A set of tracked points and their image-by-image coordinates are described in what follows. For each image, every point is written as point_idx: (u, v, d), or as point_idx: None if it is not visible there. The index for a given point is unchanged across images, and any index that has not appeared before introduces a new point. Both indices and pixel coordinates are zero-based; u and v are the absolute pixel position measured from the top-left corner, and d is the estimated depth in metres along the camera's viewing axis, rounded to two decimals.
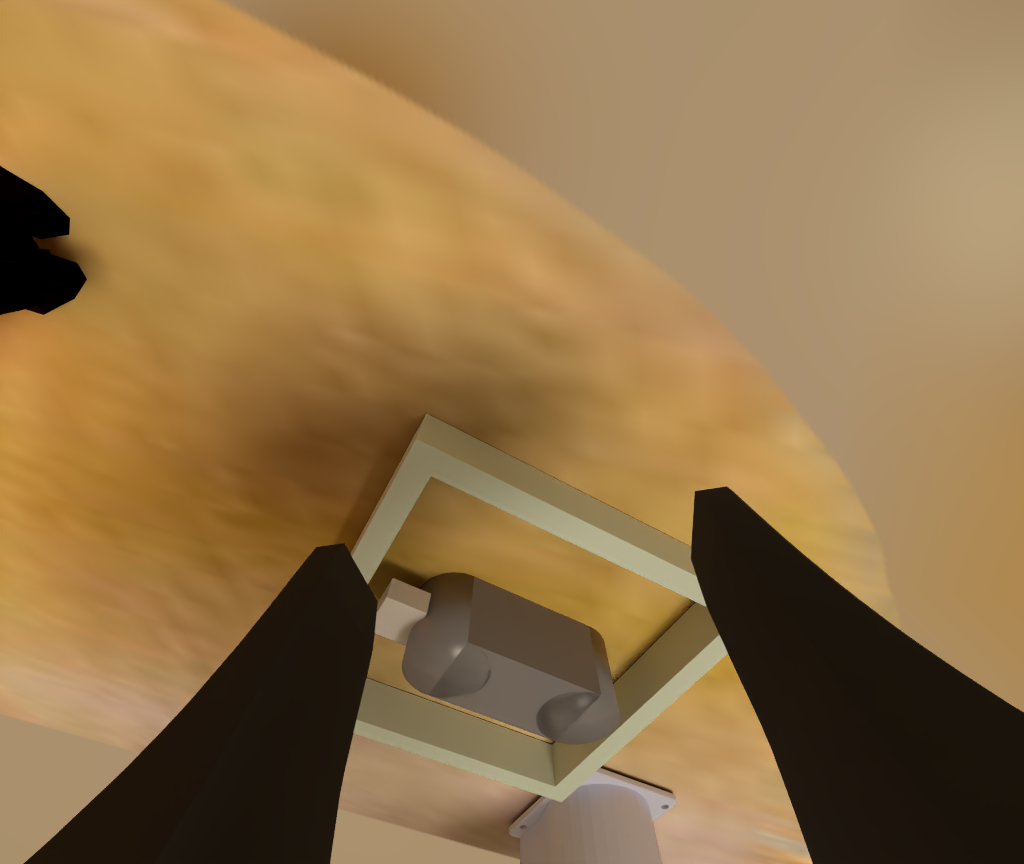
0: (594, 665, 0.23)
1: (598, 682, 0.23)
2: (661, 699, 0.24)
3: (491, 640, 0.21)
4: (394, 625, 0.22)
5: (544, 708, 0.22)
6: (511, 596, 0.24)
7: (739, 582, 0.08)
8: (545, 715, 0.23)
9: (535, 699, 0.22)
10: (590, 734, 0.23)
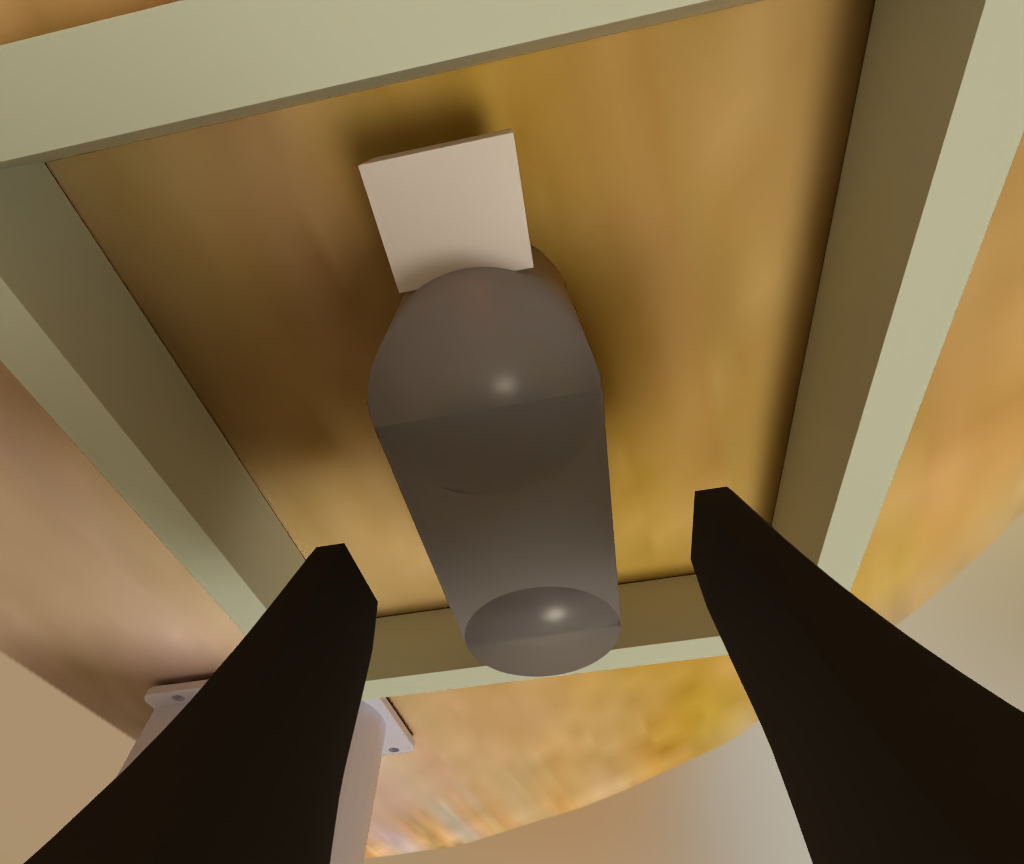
0: None
1: None
2: (603, 659, 0.16)
3: None
4: (436, 224, 0.08)
5: (526, 594, 0.11)
6: None
7: (739, 582, 0.08)
8: (511, 604, 0.11)
9: (536, 572, 0.11)
10: (523, 664, 0.13)
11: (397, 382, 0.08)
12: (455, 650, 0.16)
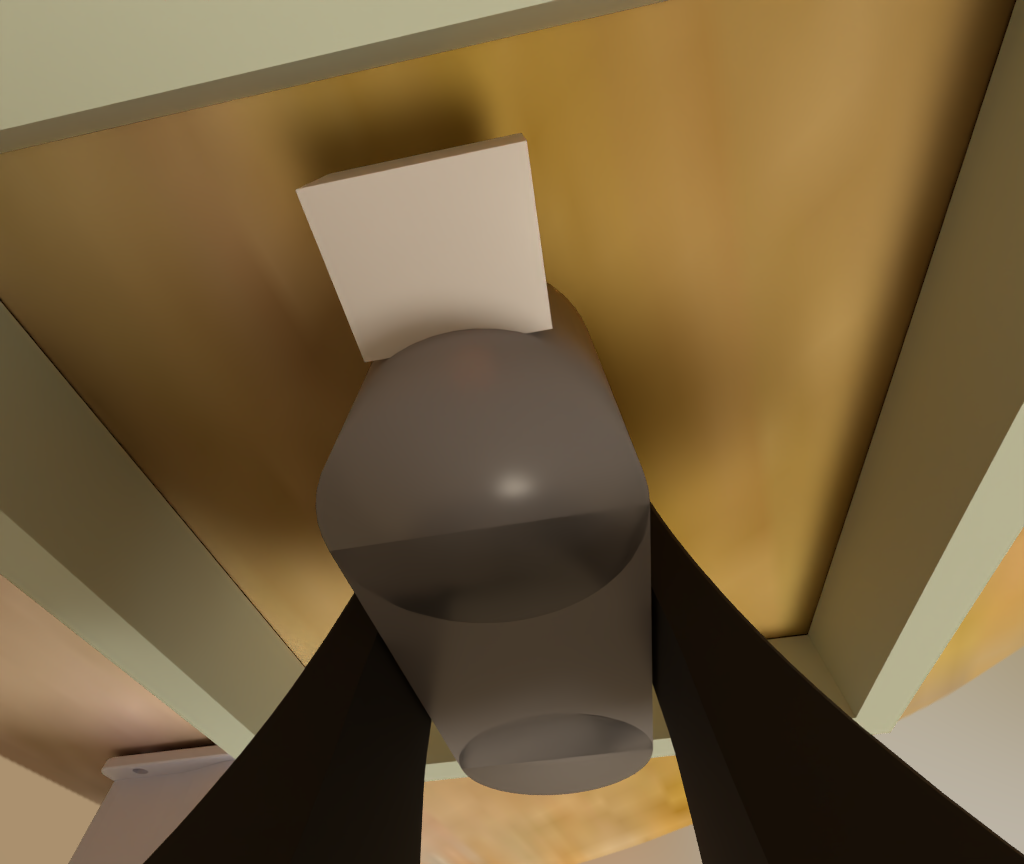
0: None
1: None
2: None
3: None
4: (413, 271, 0.05)
5: (537, 721, 0.09)
6: None
7: None
8: (516, 730, 0.09)
9: (550, 700, 0.08)
10: (531, 784, 0.11)
11: (358, 497, 0.05)
12: None
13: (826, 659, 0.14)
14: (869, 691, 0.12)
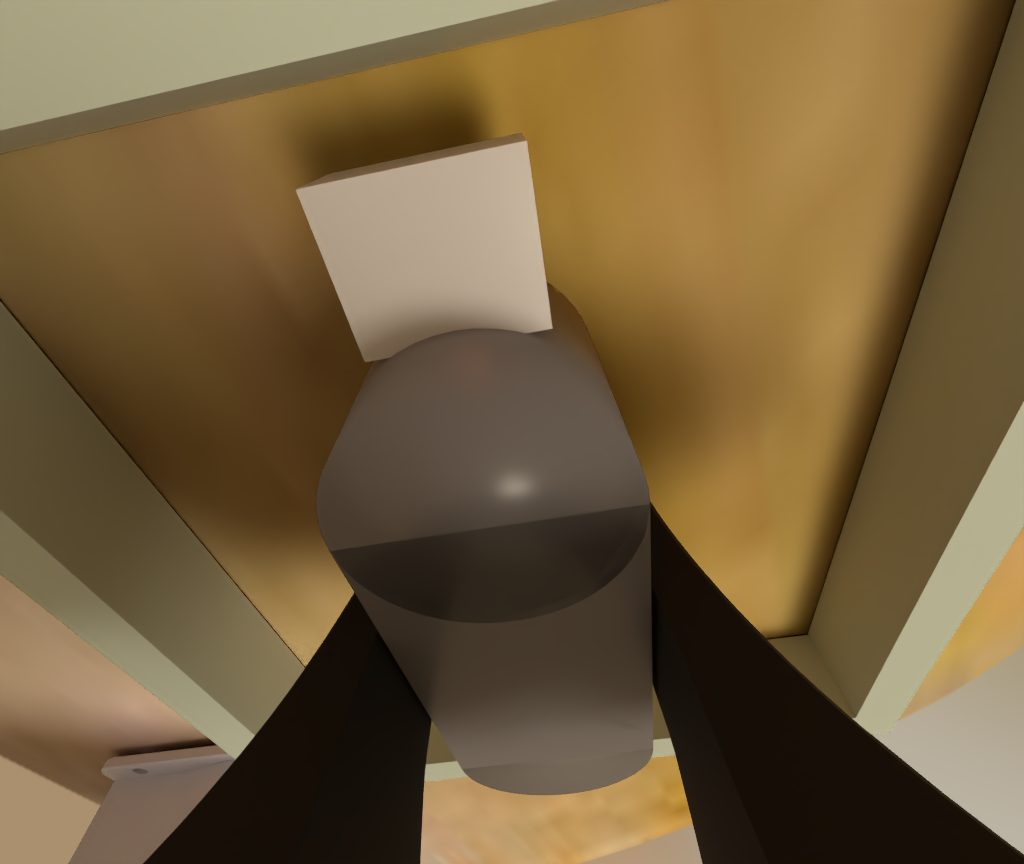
0: None
1: None
2: None
3: None
4: (413, 271, 0.05)
5: (537, 721, 0.09)
6: None
7: None
8: (517, 730, 0.09)
9: (550, 700, 0.08)
10: (531, 784, 0.11)
11: (358, 497, 0.05)
12: None
13: (826, 659, 0.14)
14: (868, 691, 0.12)
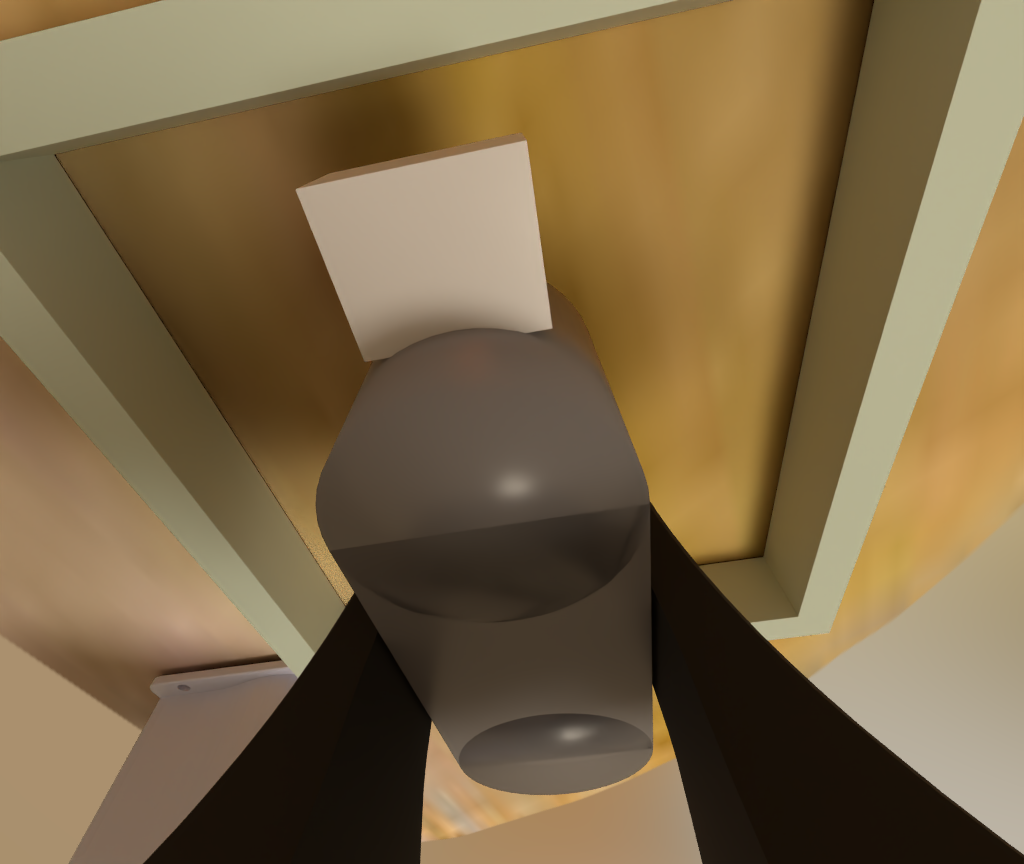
0: None
1: None
2: None
3: None
4: (413, 271, 0.05)
5: (537, 721, 0.09)
6: None
7: None
8: (516, 730, 0.09)
9: (550, 700, 0.08)
10: (531, 784, 0.11)
11: (358, 497, 0.05)
12: None
13: (776, 573, 0.16)
14: (805, 589, 0.14)
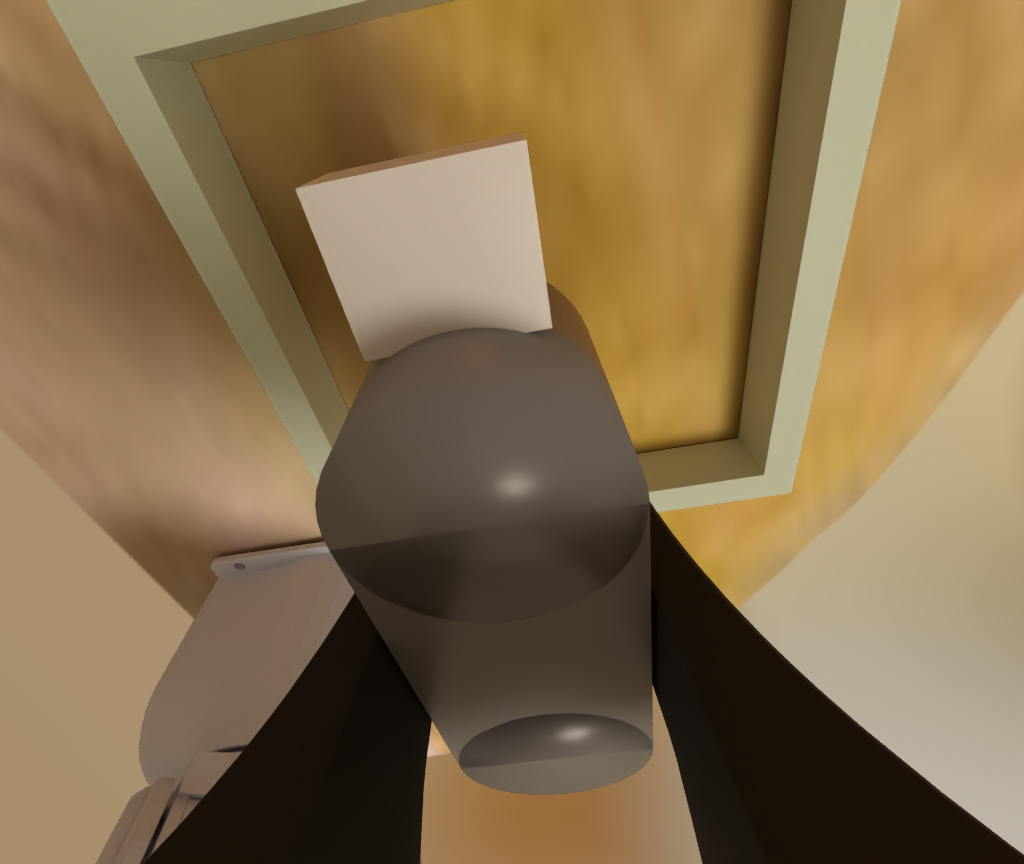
0: None
1: None
2: None
3: None
4: (413, 270, 0.05)
5: (537, 720, 0.09)
6: None
7: None
8: (516, 730, 0.09)
9: (550, 700, 0.08)
10: (530, 783, 0.11)
11: (358, 496, 0.05)
12: None
13: (748, 446, 0.19)
14: (768, 446, 0.17)
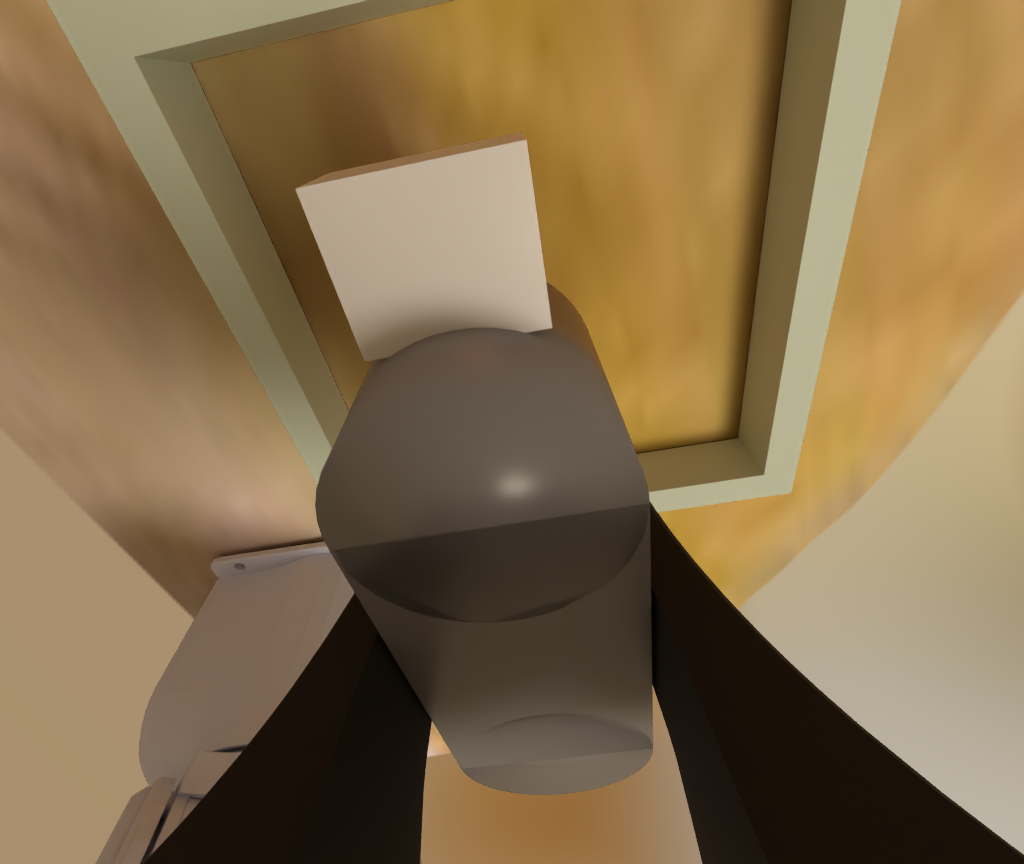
0: None
1: None
2: None
3: None
4: (413, 270, 0.05)
5: (537, 720, 0.09)
6: None
7: None
8: (516, 730, 0.09)
9: (550, 700, 0.08)
10: (530, 783, 0.11)
11: (358, 496, 0.05)
12: None
13: (748, 446, 0.19)
14: (768, 446, 0.17)
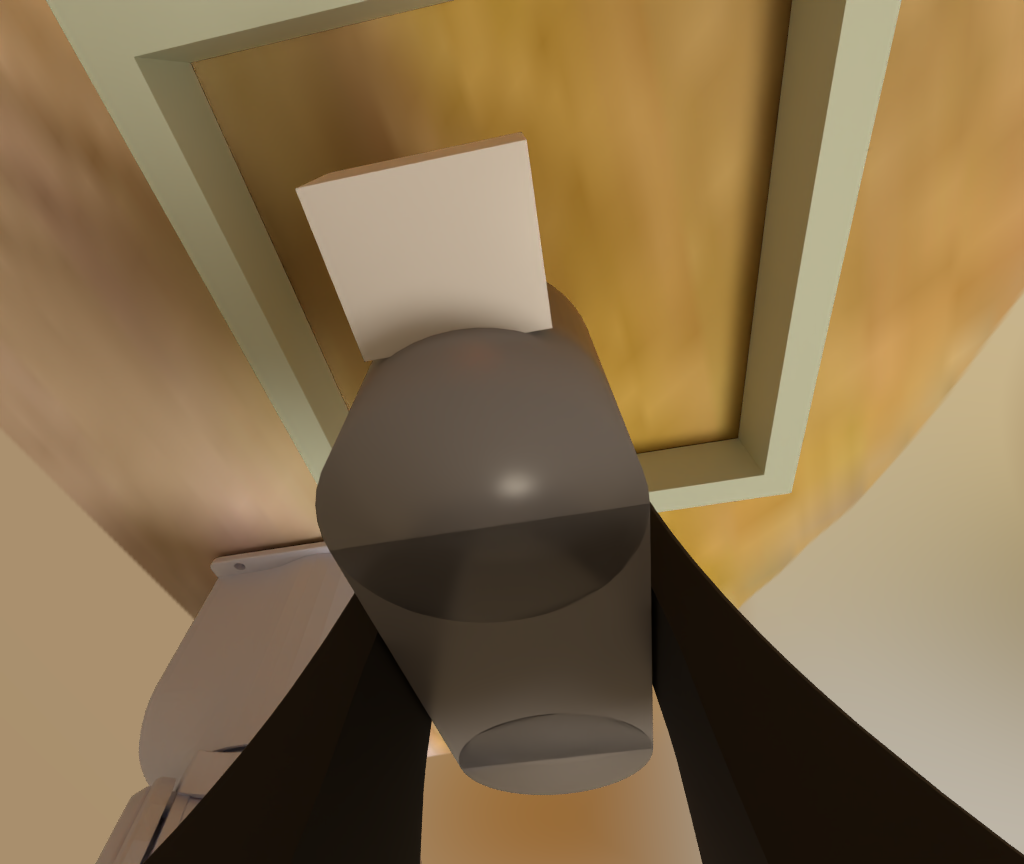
0: None
1: None
2: None
3: None
4: (413, 270, 0.05)
5: (537, 720, 0.09)
6: None
7: None
8: (516, 730, 0.09)
9: (550, 700, 0.08)
10: (530, 783, 0.11)
11: (358, 496, 0.05)
12: None
13: (748, 446, 0.19)
14: (768, 446, 0.17)
